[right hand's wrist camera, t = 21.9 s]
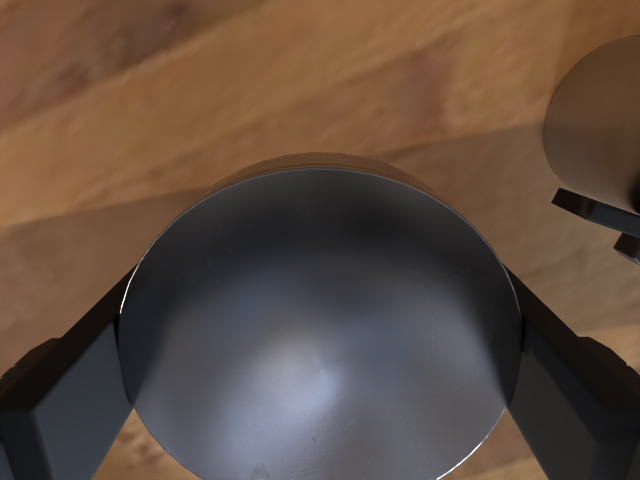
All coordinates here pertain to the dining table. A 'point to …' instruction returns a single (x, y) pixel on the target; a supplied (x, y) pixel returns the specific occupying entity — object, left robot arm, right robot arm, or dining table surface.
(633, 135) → the jar
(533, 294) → the right robot arm
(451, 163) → the dining table surface
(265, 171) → the lid
